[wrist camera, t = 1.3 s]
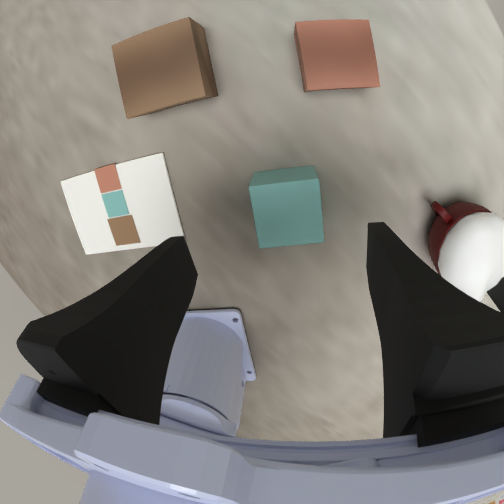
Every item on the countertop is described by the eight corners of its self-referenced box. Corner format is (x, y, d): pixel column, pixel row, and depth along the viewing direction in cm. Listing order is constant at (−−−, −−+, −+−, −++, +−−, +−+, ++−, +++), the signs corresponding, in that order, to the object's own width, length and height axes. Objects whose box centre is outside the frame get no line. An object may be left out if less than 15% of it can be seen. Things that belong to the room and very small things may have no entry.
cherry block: (364, 87, 17) (380, 86, 14) (304, 91, 17) (307, 90, 14) (355, 31, 15) (368, 19, 12) (294, 34, 16) (295, 22, 13)
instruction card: (186, 241, 23) (185, 243, 23) (87, 253, 25) (85, 255, 25) (163, 151, 20) (161, 151, 20) (61, 179, 22) (59, 180, 21)
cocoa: (405, 197, 20) (482, 290, 10) (471, 167, 18) (576, 232, 7) (433, 293, 23) (481, 402, 13) (490, 266, 21) (556, 358, 11)
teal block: (318, 219, 22) (324, 242, 18) (263, 225, 22) (259, 248, 19) (313, 165, 20) (319, 178, 17) (254, 171, 20) (248, 186, 17)
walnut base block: (218, 95, 18) (205, 96, 15) (150, 114, 19) (126, 119, 16) (204, 28, 16) (188, 17, 13) (136, 50, 17) (111, 45, 14)
